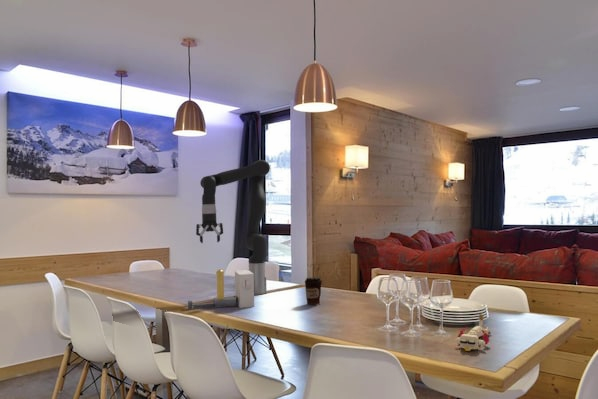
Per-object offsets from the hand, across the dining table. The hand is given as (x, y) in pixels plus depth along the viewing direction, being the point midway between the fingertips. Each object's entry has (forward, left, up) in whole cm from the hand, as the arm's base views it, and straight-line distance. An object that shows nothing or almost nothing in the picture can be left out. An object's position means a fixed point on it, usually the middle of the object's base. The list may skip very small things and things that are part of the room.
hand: (210, 242), depth 251 cm
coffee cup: (-46, +37, -30) cm, 66 cm away
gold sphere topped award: (-4, +24, -29) cm, 38 cm away
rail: (0, +24, -30) cm, 38 cm away
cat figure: (-77, +119, -30) cm, 145 cm away
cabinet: (-14, +24, -30) cm, 41 cm away
